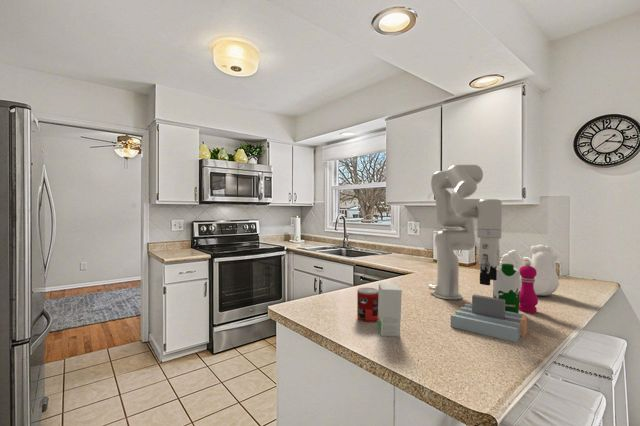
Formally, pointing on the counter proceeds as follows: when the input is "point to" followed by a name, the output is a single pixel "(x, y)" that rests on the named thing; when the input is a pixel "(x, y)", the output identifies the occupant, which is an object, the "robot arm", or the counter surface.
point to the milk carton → (508, 287)
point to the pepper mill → (528, 289)
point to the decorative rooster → (537, 267)
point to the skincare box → (389, 309)
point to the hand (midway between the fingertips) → (488, 282)
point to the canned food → (367, 304)
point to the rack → (491, 324)
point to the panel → (488, 306)
